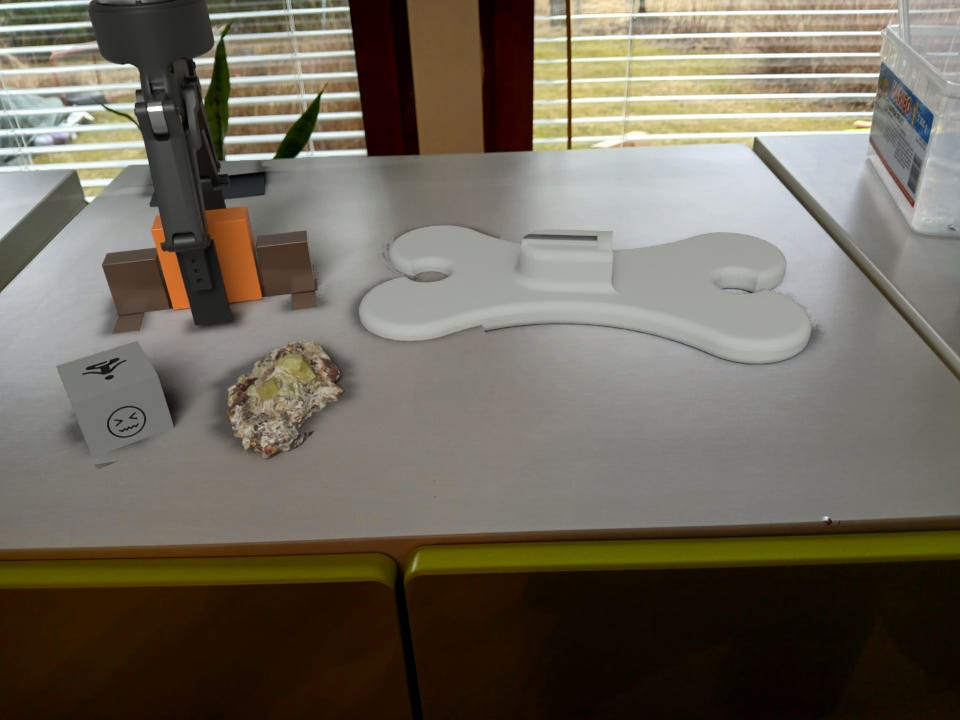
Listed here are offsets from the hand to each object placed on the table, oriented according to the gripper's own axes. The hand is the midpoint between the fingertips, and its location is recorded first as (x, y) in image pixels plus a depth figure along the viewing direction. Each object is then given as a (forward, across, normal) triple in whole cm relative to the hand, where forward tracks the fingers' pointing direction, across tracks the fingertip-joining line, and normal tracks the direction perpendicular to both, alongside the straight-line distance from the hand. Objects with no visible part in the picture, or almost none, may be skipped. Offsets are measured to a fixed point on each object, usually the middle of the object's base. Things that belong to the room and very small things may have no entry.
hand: (218, 290), depth 65 cm
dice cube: (+2, -16, +5) cm, 17 cm away
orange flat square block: (+1, 0, 0) cm, 1 cm away
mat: (+2, +31, +3) cm, 31 cm away
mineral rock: (+2, -16, -5) cm, 17 cm away
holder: (+2, -6, -29) cm, 30 cm away
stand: (+2, 0, 0) cm, 2 cm away
